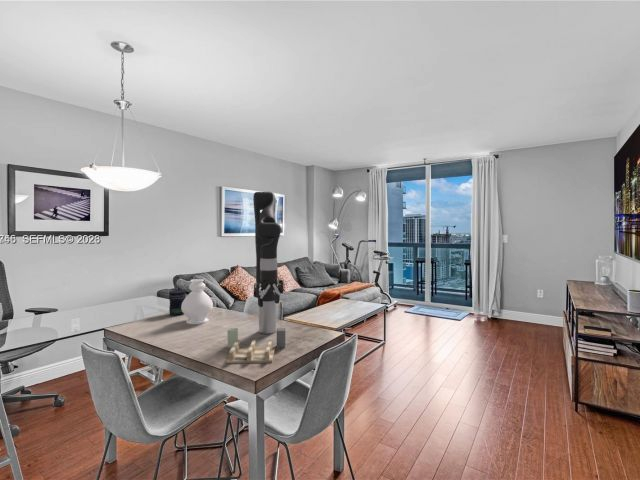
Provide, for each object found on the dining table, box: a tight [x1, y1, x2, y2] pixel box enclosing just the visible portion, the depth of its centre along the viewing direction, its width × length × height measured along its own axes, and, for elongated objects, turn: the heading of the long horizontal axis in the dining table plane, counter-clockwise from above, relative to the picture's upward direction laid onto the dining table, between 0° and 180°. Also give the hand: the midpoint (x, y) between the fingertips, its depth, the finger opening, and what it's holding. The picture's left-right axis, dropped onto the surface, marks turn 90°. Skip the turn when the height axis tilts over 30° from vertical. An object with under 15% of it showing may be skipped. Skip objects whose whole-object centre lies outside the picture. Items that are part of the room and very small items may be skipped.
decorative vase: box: [181, 278, 214, 325], centre depth 201 cm, size 18×18×25 cm
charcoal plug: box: [276, 327, 287, 349], centre depth 160 cm, size 4×4×8 cm
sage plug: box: [227, 327, 239, 349], centre depth 160 cm, size 4×4×8 cm
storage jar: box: [168, 289, 187, 317], centre depth 218 cm, size 10×10×15 cm
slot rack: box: [225, 339, 276, 364], centre depth 148 cm, size 15×19×4 cm
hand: (268, 305), depth 148 cm, fingers open, 8 cm apart
